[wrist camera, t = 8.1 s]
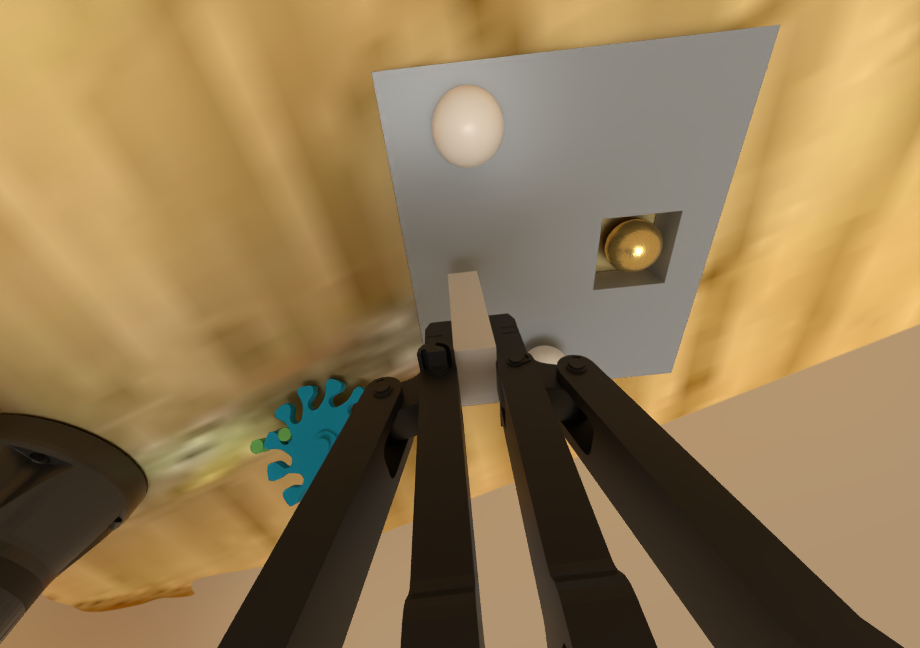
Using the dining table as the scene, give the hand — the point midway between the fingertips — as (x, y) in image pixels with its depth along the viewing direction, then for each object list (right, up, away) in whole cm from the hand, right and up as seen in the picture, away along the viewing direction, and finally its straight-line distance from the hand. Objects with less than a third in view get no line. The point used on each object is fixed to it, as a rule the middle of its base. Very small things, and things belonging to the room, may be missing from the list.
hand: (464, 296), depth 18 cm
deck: (+6, +4, +5) cm, 8 cm away
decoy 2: (0, +7, -3) cm, 8 cm away
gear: (-11, -9, +12) cm, 19 cm away
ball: (+10, +3, +3) cm, 11 cm away
